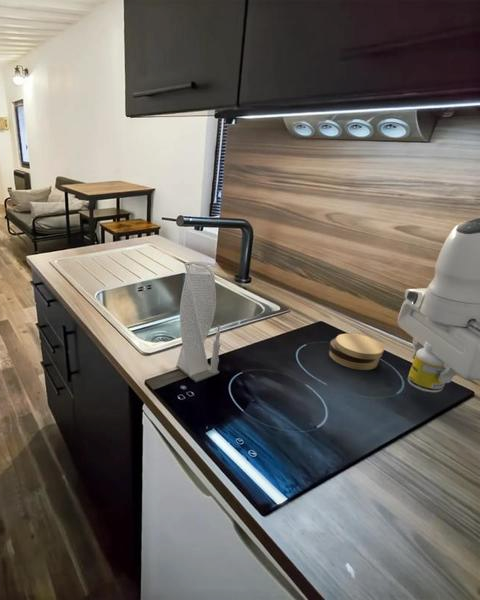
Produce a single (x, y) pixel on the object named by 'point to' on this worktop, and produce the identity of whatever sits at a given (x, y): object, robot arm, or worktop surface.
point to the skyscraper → (198, 321)
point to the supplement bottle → (426, 370)
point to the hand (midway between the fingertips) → (429, 369)
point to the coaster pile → (356, 351)
